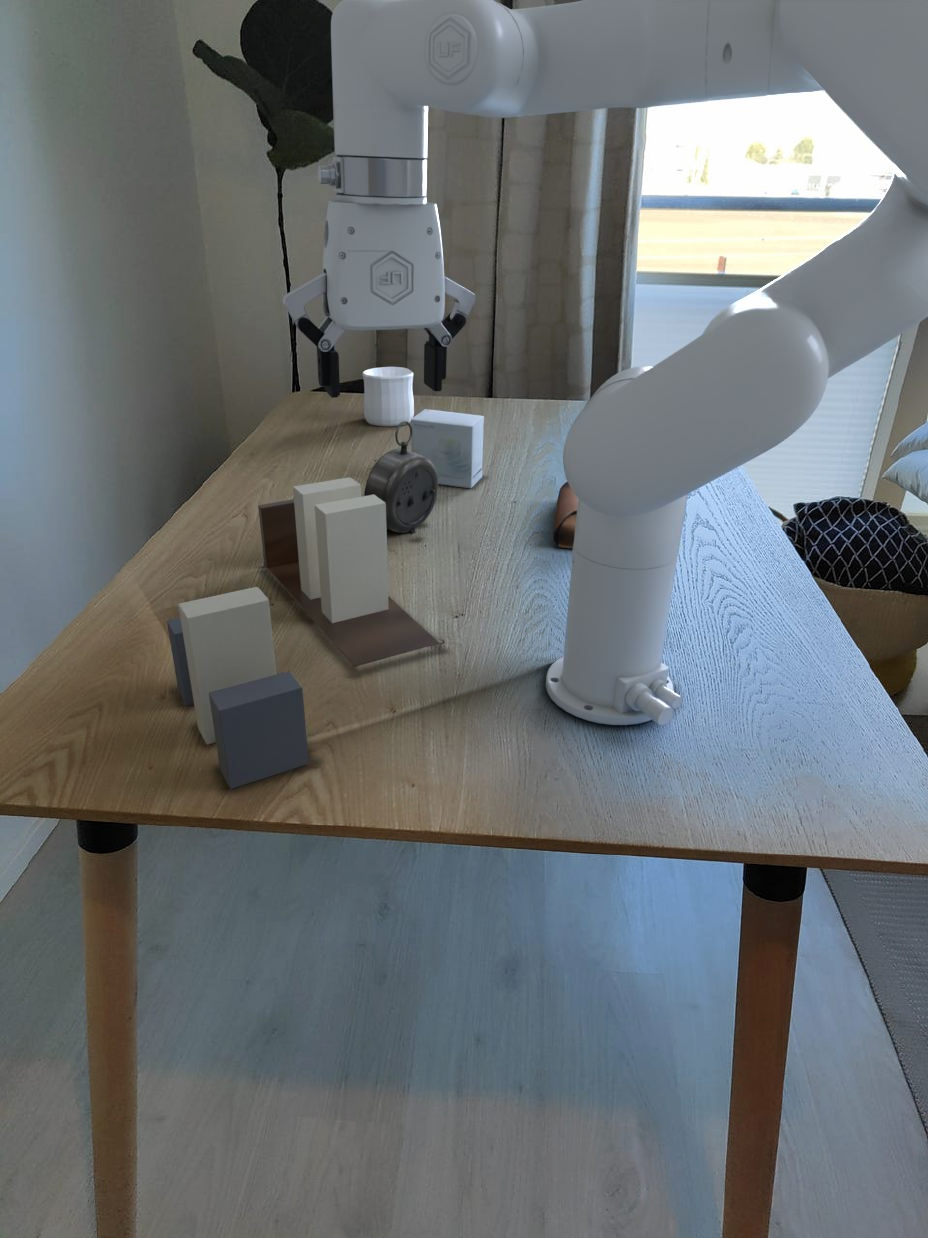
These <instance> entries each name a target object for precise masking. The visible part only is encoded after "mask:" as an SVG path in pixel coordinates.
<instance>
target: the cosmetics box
mask: <svg viewBox="0 0 928 1238" xmlns="http://www.w3.org/2000/svg"><path fill="white" fill-rule="evenodd" d="M410 424H411V426H412V437H411V440H410V441H411V452H413V453H416V454H419V455H422V456H424V457H426V458H427V459H429V460H430V461H431V462H432V464H433V465H434V467H435V469H436V472H437V476H438V485H443V486H450V487H456V488H464V489H472V488H473V487H474V486H475V485H476V484H477V483H478V482H479V481H480V480H481V479H482V478H483V454H484V424H485V416H484V415H479V414H469V413H463V412H453V411H447V410H445V411H444V410H436V409H428V408H424V409H423V410H421V411H419V413H417V414H416V415H414V416H413V418H412V419H411V422H410Z"/></svg>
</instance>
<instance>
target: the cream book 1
mask: <svg viewBox="0 0 928 1238" xmlns="http://www.w3.org/2000/svg"><path fill="white" fill-rule="evenodd" d="M177 604H178V606H177V607H178V611H179V618H181V625H182V631H183V637H184V644H185V650H186V656H187V662H188V669H189V675H190V681H191V688H192V694H193V700H194V705H193V707H194V712H195V719H196V724H197V729H198V731H199V733H200V734H201V737H202V738H203V740H204V743H205V744H206V745H207V746H208V745H212V744H216V739H215V733H214V726H213V719H212V712H211V706H210V699H209V692H213V691H217V690H220V689H224V688H228V687H232V686H235V685H239V684H243V683H246V682H250V681H254V680H258V679H261V678H265V677H269V676H273V675H276V674H277V669H276V667H277V666H276V659H275V649H274V637H273V629H272V627H273V626H272V619H271V607H270V600H269V598H268V597H267V596H266V595H265V594H264V592H263V591H262V590H261V588H259V586H254V587H249V588H244V589H240V590H235V591H231V592H226V593H220V594H217V595H213V596H208V597H204V598H199V599H194V600H189V601H185V602H180V603H177Z"/></svg>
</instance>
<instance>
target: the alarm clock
mask: <svg viewBox="0 0 928 1238" xmlns="http://www.w3.org/2000/svg"><path fill="white" fill-rule="evenodd" d="M404 423H406V424H404ZM402 424H404V425H407V426H408V427H409V437H408V439H407V441H405V440H404V441H403V440H402V441H401V442H400V441H399V439H398V433H399V430H400V428H401V426H403V425H402ZM394 435H395V436H394V437H395V442H396V444H397V445H398V446H400V448H394V449H391V450H389V451H387V452H386V453H384V454H383V455H381V457H380V458H379V459H378V460H377V461H376V462H375V463H374V464H373V466H372V468H371V470H370V472H369V474H368V476H367V479H366V483H365V486H364V495H363V496H368V495H375V496H377V497H378V498H380V499H381V500H382V501H384V502H385V503H386V530H390V531H393V532H395V533H399V534H404V533H409V532H411V535H414V534H416V532H417V531H416V529H418V528H419V527H420V526H421V525H422V524H423V523H424V522H425V521H426V520H427V519H428V517H429V516H430V514H431V512H432V511H433V509H434V506H435V504H436V501H437V497H438V492H439V484H438V476H437V472H436V469H435V467H434V465H433V464H432V462H431V461H430V460H429V459H427V458H426V457H424V456H422V455H419V454H416V453H413V452H412V451H411V450H408V446H409V443H410V441H411V437H412V426H411V422H410V423H409V422H408V421H402V422H401V423H400V424H399V425H398V426H396V429H395V434H394Z"/></svg>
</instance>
